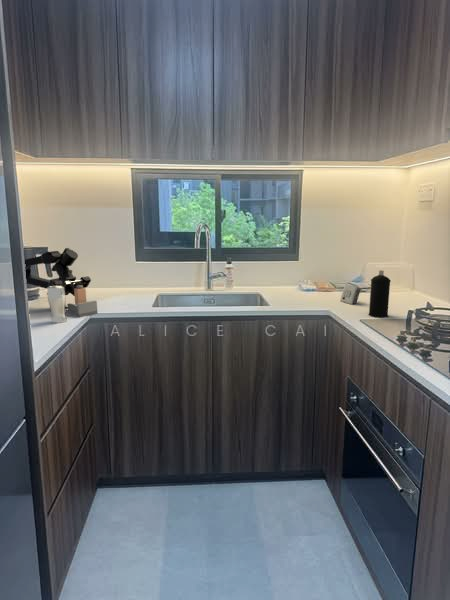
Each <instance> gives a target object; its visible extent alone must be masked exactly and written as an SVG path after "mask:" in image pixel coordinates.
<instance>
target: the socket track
mask: <svg viewBox="0 0 450 600" xmlns="http://www.w3.org/2000/svg"><path fill="white" fill-rule="evenodd" d="M66 307H68V308H67V309H65V315H66V314H67V315H70V316H74V317H78V318H83V317H87V316H92V315H96V314H98V302H97V300H91V301H87V302H83V303H78V304H77V305H75V303H67V305H66Z"/></svg>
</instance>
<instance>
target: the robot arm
mask: <svg viewBox="0 0 450 600" xmlns="http://www.w3.org/2000/svg"><path fill="white" fill-rule="evenodd" d="M78 258H79V254H78V253H77V251H74V250H73V249H71V248H69V247H66V248H65V249H64V250H63V252H62V253H60V251H58V250H54V251H52V250H51V251H46V252H44V253H41V254H40V255H38V256H33V257H30V258H24V259H25V264H26V267H25V269H26V279H27V283H26V284H28V285H31V286H35V287H39V288H42V289H46V290H47V287H50V286H64V290H65V296H68V295H72V296H73V297H75V295H74V289H75V288H76V286H78V285H83V288H85V289H86V288H87V287H89V285H90V283H91V282H92V279H91V277H90V276H81V277H80V279H78V280H77V277H76V275H75V276H74V275H73V270H72V269H70V268H69V267H71V266H72V265H73V264H74V263H75V261H77V259H78ZM43 264H44V265H51V264H54V265H52V268H51V272H56V274H57V276H58V277H57V278H52V279H47V278H42V277H41V276H40V277H39V276H35V275H32V269H31V267H32V266H37V265H43ZM67 309H68V306H67V305H66V303H65V310H67Z"/></svg>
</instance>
